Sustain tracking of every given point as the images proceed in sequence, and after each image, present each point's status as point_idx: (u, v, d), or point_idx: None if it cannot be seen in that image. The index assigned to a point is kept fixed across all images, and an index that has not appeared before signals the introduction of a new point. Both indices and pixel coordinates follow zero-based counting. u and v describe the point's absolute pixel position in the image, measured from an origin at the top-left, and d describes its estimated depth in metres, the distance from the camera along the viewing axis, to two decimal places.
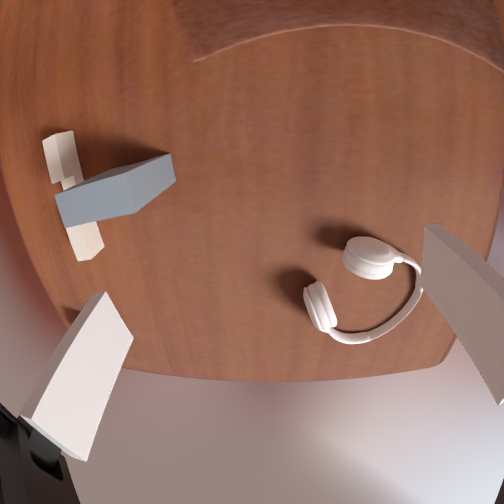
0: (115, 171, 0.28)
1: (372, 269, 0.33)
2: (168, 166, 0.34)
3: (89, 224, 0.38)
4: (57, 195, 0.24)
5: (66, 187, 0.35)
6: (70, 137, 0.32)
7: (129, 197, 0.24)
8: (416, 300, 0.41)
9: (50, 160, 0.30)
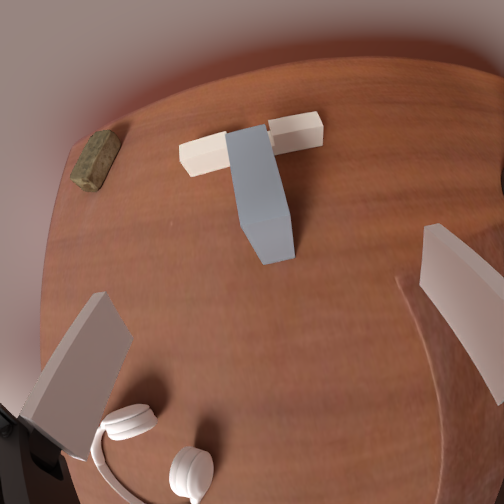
0: None
1: (180, 480, 0.22)
2: (281, 257, 0.33)
3: (218, 161, 0.38)
4: (264, 127, 0.25)
5: None
6: (315, 143, 0.37)
7: (259, 220, 0.22)
8: None
9: (294, 120, 0.34)
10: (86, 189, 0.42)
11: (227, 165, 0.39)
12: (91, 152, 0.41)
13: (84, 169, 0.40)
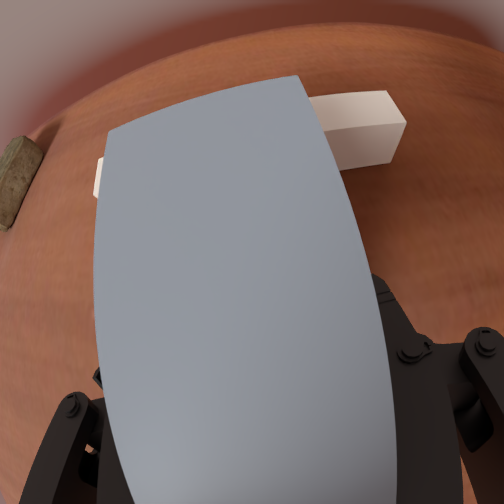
0: None
1: None
2: None
3: None
4: (296, 90, 0.04)
5: None
6: (380, 157, 0.17)
7: None
8: None
9: (343, 103, 0.14)
10: None
11: None
12: None
13: None
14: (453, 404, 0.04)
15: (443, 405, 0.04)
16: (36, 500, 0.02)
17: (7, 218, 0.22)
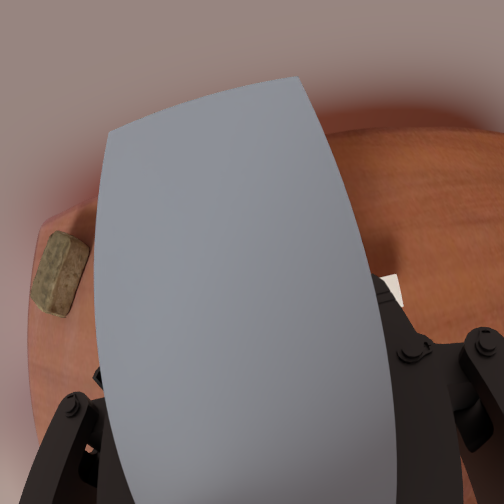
0: None
1: None
2: None
3: None
4: (297, 91, 0.04)
5: None
6: None
7: None
8: None
9: None
10: None
11: None
12: (50, 269, 0.29)
13: (44, 295, 0.28)
14: (453, 404, 0.04)
15: (443, 405, 0.04)
16: (36, 500, 0.02)
17: (65, 309, 0.31)
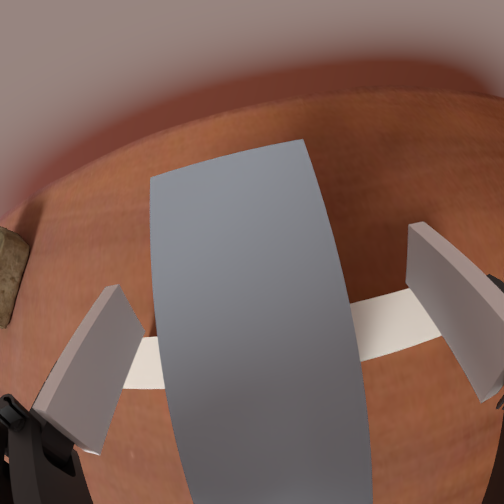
0: None
1: None
2: None
3: None
4: (302, 155, 0.06)
5: None
6: None
7: None
8: None
9: (403, 309, 0.12)
10: None
11: None
12: None
13: None
14: None
15: None
16: None
17: (3, 319, 0.21)
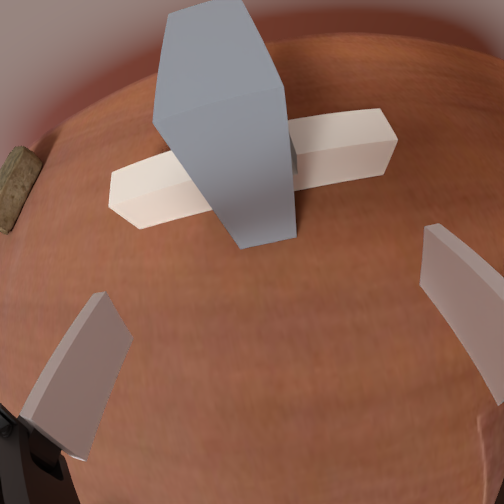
0: None
1: None
2: (272, 233, 0.18)
3: (183, 204, 0.19)
4: None
5: None
6: (373, 170, 0.19)
7: (201, 103, 0.07)
8: None
9: (340, 122, 0.16)
10: None
11: (203, 209, 0.21)
12: (0, 180, 0.23)
13: None
14: None
15: None
16: None
17: (8, 223, 0.25)
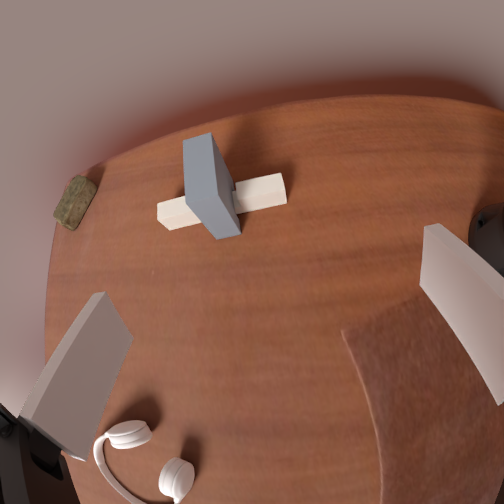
0: (225, 186, 0.37)
1: (167, 484, 0.27)
2: (229, 232, 0.42)
3: (191, 219, 0.44)
4: (210, 135, 0.34)
5: None
6: (279, 202, 0.43)
7: (197, 199, 0.31)
8: None
9: (259, 183, 0.40)
10: (65, 227, 0.49)
11: (200, 221, 0.45)
12: (70, 197, 0.47)
13: (63, 212, 0.47)
14: None
15: None
16: None
17: (75, 224, 0.49)
